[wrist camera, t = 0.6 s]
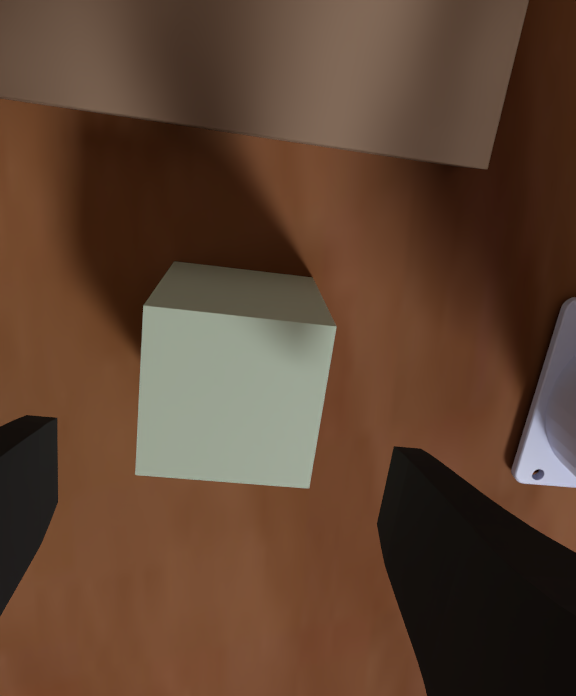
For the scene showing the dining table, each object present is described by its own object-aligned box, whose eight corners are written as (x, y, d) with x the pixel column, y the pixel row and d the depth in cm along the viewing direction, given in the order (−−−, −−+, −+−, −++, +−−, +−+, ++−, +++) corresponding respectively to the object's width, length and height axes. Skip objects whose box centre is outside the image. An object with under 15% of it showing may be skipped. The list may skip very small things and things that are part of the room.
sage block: (312, 277, 20) (336, 326, 14) (294, 400, 22) (309, 488, 16) (174, 260, 20) (143, 305, 14) (166, 388, 21) (135, 475, 16)
